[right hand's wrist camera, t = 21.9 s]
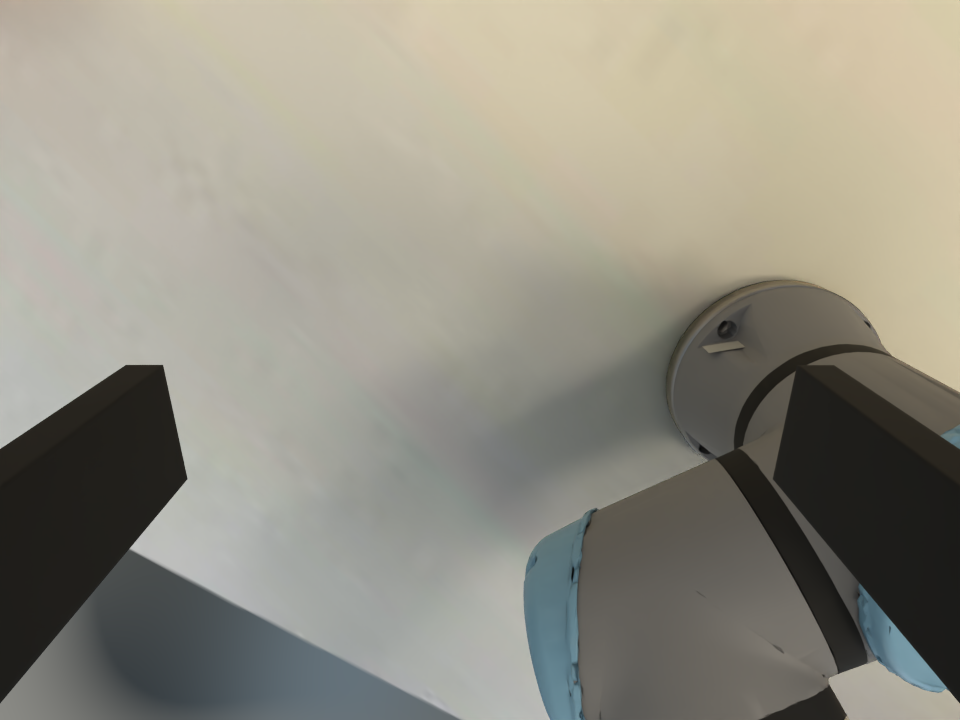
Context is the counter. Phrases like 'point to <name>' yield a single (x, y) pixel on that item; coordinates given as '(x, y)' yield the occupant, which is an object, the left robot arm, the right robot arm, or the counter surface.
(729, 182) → the counter surface
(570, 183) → the counter surface
